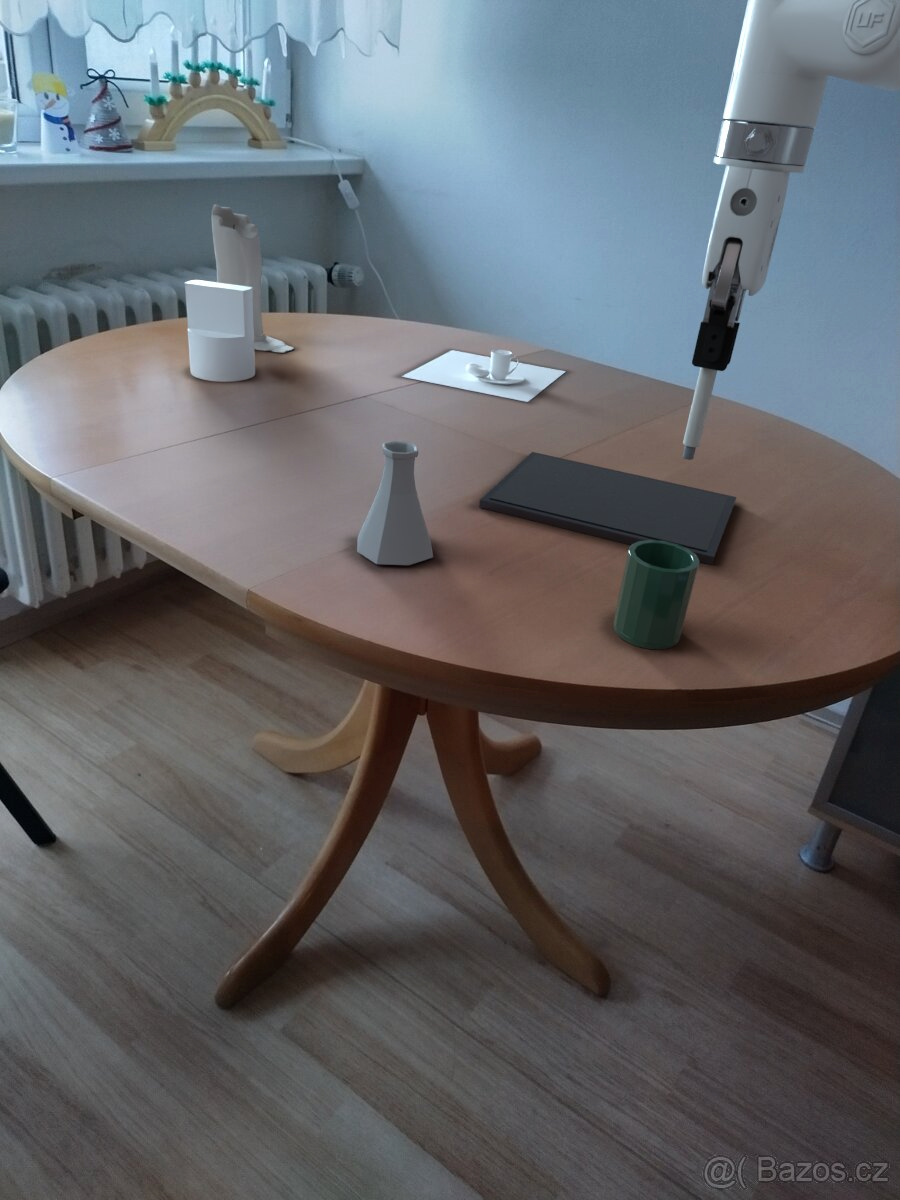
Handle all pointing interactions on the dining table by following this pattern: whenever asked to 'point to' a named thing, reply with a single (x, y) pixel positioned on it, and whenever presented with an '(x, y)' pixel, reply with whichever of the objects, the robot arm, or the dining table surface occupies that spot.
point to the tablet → (612, 504)
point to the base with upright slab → (220, 331)
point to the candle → (242, 265)
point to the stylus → (698, 411)
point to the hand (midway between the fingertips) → (710, 364)
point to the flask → (396, 513)
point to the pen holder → (655, 593)
